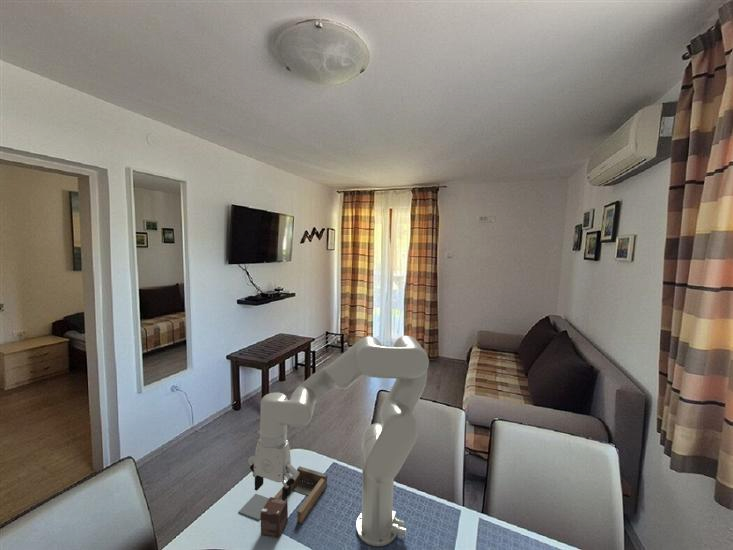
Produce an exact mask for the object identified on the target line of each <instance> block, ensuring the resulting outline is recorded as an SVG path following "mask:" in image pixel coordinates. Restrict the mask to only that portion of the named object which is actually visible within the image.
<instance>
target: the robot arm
mask: <svg viewBox="0 0 733 550" xmlns="http://www.w3.org/2000/svg"><path fill="white" fill-rule="evenodd" d="M429 366H430V360H429V357H428V354H427V352H426V351H425V350H424V348H423V347H422V345H421V344H420V343H419V341H418V340H417V339H416V338H414V337H413V336H411V335H401V336H400V337H398V338H397V340H396V341H395V343H394V344H393V346H383V345H382V343H381V342H380V340H378V339H377V338H376V337H374V336H370V335H366V336H364V337H362V338H360V339H359V340H358V341H356V342H355V343H354V344H353V345H352V346H350V347H348V349H347V350H346V351H345V352H344V353H342V354H341V355H340V356H339V357H337V358H336V359H335V360H334V361H332V362H331V363H329V365H327V366H324V367H322V368H321V369H319V370H318V371H315V372H314V373H313V374H311V375H310V376H309V377H308V378H307V379H306V380H304V381H303V382H302V383H301V384H300V385H298V386H297V387H296V388H295V390H293V392H292V394H291V396H290V399H288V397H287V395H286V394H284V393H282V392H270V393H266V394H265V395H264V396H263V397H262V398H261V400H260V417H259V418H260V426H259V427H260V428H259V429H258V430H257V434H258V435H260V436H259V439H258V440H257V443H256V446H255V452H254V455H252V456H250V457H248V459H247V462H248V464H249V469H250V471H251V472H252V477H253V478H254V491H256V492H257V491H258V490H260V488H261V487H262V486H263V485H264V479H266V480H270V481H272V482H275V483H282V487H283V486H284V487H283V488H282V487H281V489H282V500H283V501H285V500H288V498H289V497H290V496H291V493H292V492H291V485H292V484H293V483H294V482H295V481H296V479H297V477H298V476H299V472H298V471H297V469H296V468H295V467H294V466H293V465H291V464H292V461H291V460H292V459H291V449H290V444H289V443H290V442H289V440H288V426H290V427H294V428H302V427H306V426H307V425H308V424H309V423H310V422H311V421H312V418H313V415H314V409H315V405H316V403H317V402H318V401H319V400H320V399H321V398H322V397H324V396H325V395H326V394H327V393H328V392H331V391H333V390H334V389H340V390H343V391H344V390H347V389H349V388H350V387H351V386H352V385H354V384H355V383H356V382H357V381H358V380H360V379H361V378H362V377H363V376H366V377H369V378H376V379H395V381H394V383H393V386H392V387H391V389H390V391H389V392H388V394H387V396H386V398H385V399H384V401H383V403H382V405H381V407H380V412H379V415H380V422H381V423H380V422H379V423H378V422H376V423H372V424H370V425H369V426H368V427H367V428H366V429H365V431H364V432H363V434H362V439H361V441H362V443H361V451H362V453H361V455H362V467H361V469H362V470H361V471H362V473H361V475H362V478H361V513H360V514H359V515H358V517H357V519H356V523H355V524H356V526H355V529H356V533H357V535H358V537H359V538H360V539H361V541H362V542H364V543H366V544H367V545H369V546H372V547H383V546H388V545H389V544H390V543H392V542H393V541H395V540H394V539H396V536H397V535H398V534H399V535H400V536H402V537H406V536H407V527H404V526H405V521H404V520H402V519H398V518H397V517H396V511H394V482H395V481H394V480H395V478H396V476H397V475H398V474H399V472H400V471H401V468H402V467H403V465H404V464H405V461H406V460H407V458H408V456H409V454H410V452H412V451H411V450H412V449H413V446H414V445H415V443H416V441H417V438H418V434H419V433H418V432H419V426H418V421H417V419H416V416H415V410H416V407H417V406H418V403H419V402H420V398H421V396H422V395H423V393H424V390H425V388H426V384H427V380H428V369H429Z"/></svg>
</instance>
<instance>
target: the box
mask: <svg viewBox="0 0 733 550" xmlns="http://www.w3.org/2000/svg"><path fill="white" fill-rule="evenodd" d="M268 498H269V500H268V501H267V503H266V505H265V506H264V508H263V509H262V511H261V512H260V515H261V519H260V535H261V536H265V537H271V538H277V539H280V537H281V536H282V535H283V534H282V533H283V532H284V530H285V527H286V526H287V523H288V522H289V515H288V514H289V510H288V507H289V506H288V504H289V503H288V499H286V500H285V501H283V500H282V499H279V498H274V496H273V497H271V496H270V497H268Z"/></svg>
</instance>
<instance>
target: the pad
mask: <svg viewBox="0 0 733 550" xmlns="http://www.w3.org/2000/svg"><path fill="white" fill-rule="evenodd" d="M269 498H270V497H266V496H264V495H261V494H258V493H255V494H253V496H251V498H249V500H248V501H247V502H246V503H245V504H244V505H243V506H242V507H241V509H239V510H238V514H240V515H244V516H247V517H249V518H251V519H254V520H257V521H261V515H260V512H261V511H262V509H263V508H264V506H265V505H266V503H267V501H268V500H269Z"/></svg>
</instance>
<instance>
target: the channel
mask: <svg viewBox="0 0 733 550" xmlns="http://www.w3.org/2000/svg"><path fill="white" fill-rule="evenodd" d="M296 470H297V471H298V472H299V476H298V477H297V479H296V481H295V482H294V483H293V484H292V485H291V493H292V491H293V492H296V493H300V494H302V495H306V496H307V497H306V499H304V501H303V503H302V504H301V506H300V507H299V508H298V510H297V513H296V514H297V516H296V517H297V523H300V524H303V522H304V520H305V519H306V517H307V516H308V514H309V513H310V511H311V510H312V509H313V507H314V505H315V504H316V502H317V501H318V499H319V498H320V497H321V495H322V494H323V492H324V490H325V489H326V488H327V486H328V474H327V473H323V472H321V471H318V470H313V469H310V468H306V467H303V466H301V465H300V466H298V468H297V469H296ZM283 487H284V485H282V487H281V488H280V490H279V491H278V492H277V493H276V494H275V495H274V496H273V498H279V499H282V488H283Z"/></svg>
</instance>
